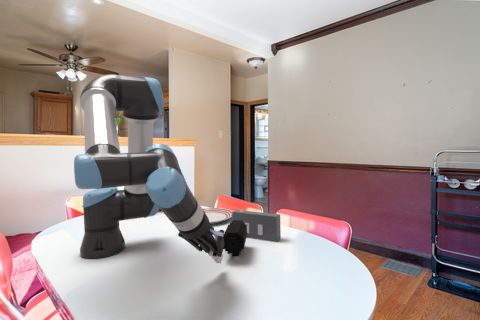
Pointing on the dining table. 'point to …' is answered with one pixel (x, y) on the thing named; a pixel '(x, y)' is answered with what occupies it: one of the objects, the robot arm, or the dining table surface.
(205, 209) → the dinner plate
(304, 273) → the dining table surface
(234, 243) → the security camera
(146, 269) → the dining table surface
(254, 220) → the charging block
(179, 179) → the robot arm
